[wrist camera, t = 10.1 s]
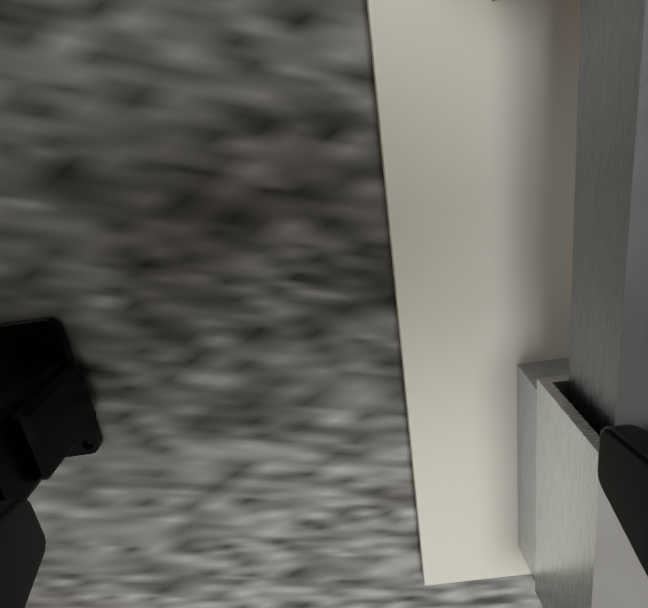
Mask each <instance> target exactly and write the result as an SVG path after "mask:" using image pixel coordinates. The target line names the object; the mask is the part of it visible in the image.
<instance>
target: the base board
mask: <svg viewBox="0 0 648 608" xmlns="http://www.w3.org/2000/svg"><path fill="white" fill-rule="evenodd" d="M366 3H367V13H368V24H369V34H370V44H371V54H372V64H373V75H374V85H375V95H376V105H377V115H378V125H379V136H380V146H381V156H382V166H383V176H384V187H385V197H386V207H387V217H388V227H389V237H390V248H391V258H392V268H393V278H394V288H395V299H396V309H397V319H398V329H399V339H400V350H401V360H402V370H403V380H404V390H405V400H406V411H407V421H408V431H409V441H410V451H411V462H412V472H413V482H414V492H415V502H416V512H417V523H418V533H419V543H420V553H421V563H422V574H423V579H424V584H425V585H434V584H443V583H452V582H461V581H470V580H479V579H488V578H497V577H506V576H515V575H524V574H531V572H530V570H529V568H528V566H527V563H526V561H525V559H524V557H523V555H522V553H521V550H520V548H519V546H518V486H517V364H523V363H530V362H538V361H546V360H554V359H561V358H569V348H570V318H571V288H572V259H573V229H574V199H575V169H576V139H577V109H578V80H579V50H580V20H581V0H495V1H492V0H366Z"/></svg>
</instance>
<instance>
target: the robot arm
mask: <svg viewBox="0 0 648 608" xmlns="http://www.w3.org/2000/svg"><path fill="white" fill-rule="evenodd" d="M45 327H48V328H50V329H51V330H52V334H49V333H48V332H46V330H45ZM95 416H96V412H95V409H94V406H93V404H92V401H91V398H90V395H89V392H88V389H87V387H86V384H85V381H84V378H83V375H82V372H81V370H80V367H79V366H78V365H77V364H76V363H75V360H74V357H73V354H72V352H71V349H70V346H69V343H68V340H67V337H66V335H65V332H64V329H63V326H62V325H61V323H60V322H59V321H58V320H57V319H54V318H50V317H46V318H39V319H31V320H24V321H17V322H10V323H2V324H0V608H25V605H26V603H27V600H28V597H29V594H30V591H31V589H32V586H33V583H34V580H35V578H36V575H37V572H38V569H39V566H40V564H41V561H42V558H43V555H44V552H45V544H46V541H45V536H44V533H43V531H42V528H41V526H40V524H39V522H38V519H37V517H36V515H35V513H34V510H33V508H32V506H31V504H30V502H29V501H28V500H27V498H28V497H29V496H30V495H31V493H32V492H33V491H34V489H35V488H36V487H37V485H38V484H39V483H40V481H41V480H47V479H49V478H50V477H51V475H52V474H53V473H54V471H55V470H56V469H57V467H58V466H59V465H60V463H61V462H62V461H63V459H64V458H65V457H70V456H78V455H86V454H92V453H95V452H96V451H97V450H98V449H99V447H100V446H101V444H102V442H103V441H102V436H101V433H100V430H99V428H98V425H97V422H96V419H95ZM86 440H90V441H92V443H93V444H90V443H88V442H87V441H86ZM597 471H598V479H599V482H600V485H601V487H602V490H603V492H604V493H605V495H606V497H607V499H608V501H609V503H610V505H611V507H612V509H613V511H614V513H615V515H616V517H617V519H618V521H619V523H620V525H621V527H622V528H623V530H624V532H625V534H626V536H627V538H628V540H629V542H630V544H631V546H632V548H633V550H634V552H635V554H636V556H637V558H638V560H639V562H640V563H641V565H642V567H643V569H644V571H645V573H646V575H647V577H648V431H647V430H645V429H642V428H640V427H638V426H635V425H632V424H623V425H615V426H607V427H605V428H603V429H602V430H601V432H600V437H599V452H598V469H597Z"/></svg>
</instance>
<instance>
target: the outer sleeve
mask: <svg viewBox="0 0 648 608" xmlns="http://www.w3.org/2000/svg"><path fill="white" fill-rule="evenodd" d="M568 378H569V358H561V359H554V360H546V361H538V362H530V363H523V364H517V486H518V546H519V548H520V550H521V553H522V555H523V557H524V559H525V561H526V563H527V566H528V568H529V570H530V572H531V574H532V576H533V579H534V581H535V591H536V593H537V596H538V598H539V600H540V602H541V604H542V607H543V608H648V577H647V575H646V573H645V571H644V569H643V567H642V565H641V563H640V562H639V560H638V558H637V556H636V554H635V552H634V550H633V548H632V546H631V544H630V542H629V540H628V538H627V536H626V534H625V532H624V530H623V528H622V527H621V525H620V523H619V521H618V519H617V517H616V515H615V513H614V511H613V509H612V507H611V505H610V503H609V501H608V499H607V497H606V495H605V493H604V492H603V490H602V487H601V485H600V482H599V479H598V471H597V469H598V452H599V436H598V434H597V433H596V432H595V431H594V430H593V429H592V427H591V426H590V425H589V424H588V423H587V422H586V421H585V419H584V418H583V417H582V416H581V415H580V414H579V413H578V411H577V410H576V409H575V408H574V407H573V406H572V405H571V403H570V402H569V401H568Z"/></svg>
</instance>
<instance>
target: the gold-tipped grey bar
mask: <svg viewBox="0 0 648 608" xmlns="http://www.w3.org/2000/svg"><path fill="white" fill-rule="evenodd" d="M568 401H569V402H570V403H571V405H572V406H573V407H574V408H575V409H576V410H577V411H578V413H579V414H580V415H581V416H582V417H583V418H584V419H585V421H586V422H587V423H588V424H589V425H590V426H591V427H592V429H593V430H594V431H595V432H596V433H597V434H598V436H599V437H600V432H601V430H602V429H603V428H605V427H607V426H615V425H623V424H632V425H635V426H638V427H640V428H642V429H645V430H647V431H648V0H581V20H580V50H579V80H578V109H577V139H576V169H575V199H574V229H573V259H572V288H571V318H570V348H569V378H568Z"/></svg>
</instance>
